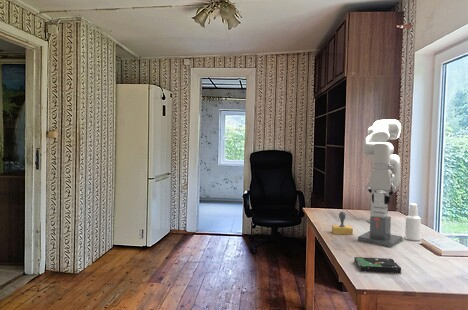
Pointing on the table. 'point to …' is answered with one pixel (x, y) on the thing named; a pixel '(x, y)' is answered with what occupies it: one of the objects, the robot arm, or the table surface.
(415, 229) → the spray bottle
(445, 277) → the table surface
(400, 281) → the table surface
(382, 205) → the block
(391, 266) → the disk drive
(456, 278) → the table surface
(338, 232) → the rubber stamp
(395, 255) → the table surface
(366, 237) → the jack stand base
